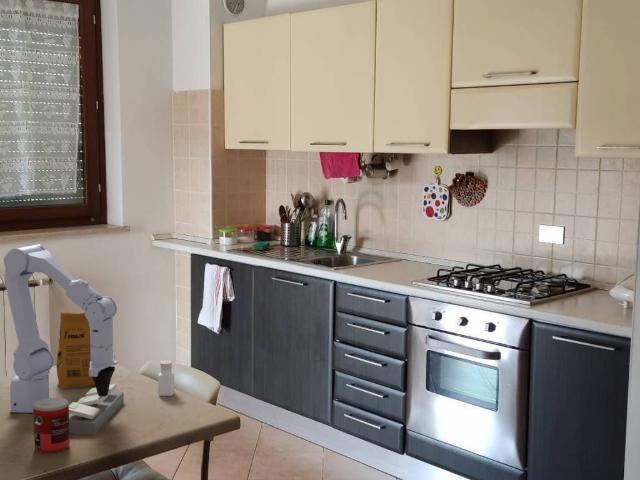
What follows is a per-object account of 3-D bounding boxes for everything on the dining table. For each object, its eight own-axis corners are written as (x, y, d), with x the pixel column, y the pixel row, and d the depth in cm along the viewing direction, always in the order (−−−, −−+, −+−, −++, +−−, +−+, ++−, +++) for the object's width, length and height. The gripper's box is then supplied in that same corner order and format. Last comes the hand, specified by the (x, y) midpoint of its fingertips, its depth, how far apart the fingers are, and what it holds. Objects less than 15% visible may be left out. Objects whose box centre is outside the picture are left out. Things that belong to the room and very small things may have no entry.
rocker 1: (87, 401, 213) (85, 393, 213) (93, 395, 218) (92, 387, 218) (112, 396, 213) (110, 388, 213) (118, 390, 218) (116, 382, 218)
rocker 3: (64, 416, 197) (65, 408, 197) (71, 409, 202) (73, 401, 202) (91, 423, 197) (93, 415, 197) (98, 416, 202) (99, 408, 202)
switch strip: (58, 433, 196) (58, 421, 196) (95, 397, 224) (95, 387, 223) (94, 434, 196) (94, 422, 196) (127, 398, 223) (127, 388, 223)
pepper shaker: (171, 396, 225) (171, 364, 224) (157, 396, 225) (157, 364, 224) (174, 392, 229) (174, 360, 228) (161, 392, 229) (160, 360, 228)
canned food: (39, 441, 191) (37, 397, 190) (73, 441, 192) (72, 397, 190) (30, 454, 183) (28, 408, 182) (65, 453, 184) (64, 408, 183)
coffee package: (57, 380, 238) (55, 308, 236) (100, 377, 242) (98, 306, 239) (57, 390, 229) (54, 316, 226) (101, 387, 233) (99, 313, 230)
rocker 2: (76, 411, 206) (74, 403, 205) (83, 405, 210) (81, 397, 210) (102, 406, 205) (100, 398, 205) (108, 400, 210) (106, 392, 210)
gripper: (107, 352, 198) (109, 405, 200) (125, 338, 212) (126, 387, 214) (80, 351, 198) (81, 404, 200) (99, 337, 213) (100, 386, 215)
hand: (102, 395), depth 207 cm, fingers closed
